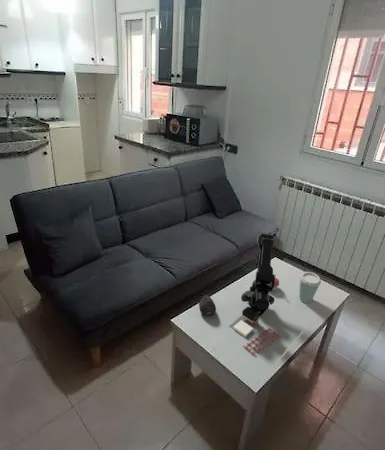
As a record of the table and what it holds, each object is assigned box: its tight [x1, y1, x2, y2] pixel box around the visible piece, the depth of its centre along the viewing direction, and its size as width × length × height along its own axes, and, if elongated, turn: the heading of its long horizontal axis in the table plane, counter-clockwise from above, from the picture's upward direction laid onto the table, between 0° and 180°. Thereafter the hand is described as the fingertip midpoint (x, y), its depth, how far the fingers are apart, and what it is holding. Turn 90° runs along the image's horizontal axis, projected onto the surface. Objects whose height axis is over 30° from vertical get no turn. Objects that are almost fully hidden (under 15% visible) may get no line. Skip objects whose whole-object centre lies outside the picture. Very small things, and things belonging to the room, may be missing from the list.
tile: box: [232, 320, 253, 338], centre depth 145 cm, size 2×7×6 cm
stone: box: [198, 294, 217, 316], centre depth 152 cm, size 8×8×10 cm
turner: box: [243, 312, 260, 324], centre depth 148 cm, size 4×8×6 cm, turn 46°
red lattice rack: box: [242, 327, 282, 358], centre depth 139 cm, size 7×19×2 cm, turn 130°
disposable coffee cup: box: [298, 271, 322, 304], centre depth 165 cm, size 11×11×15 cm
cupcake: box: [269, 273, 280, 291], centre depth 172 cm, size 9×8×12 cm
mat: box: [228, 314, 265, 342], centre depth 147 cm, size 12×12×1 cm
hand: (256, 319), depth 147 cm, fingers closed on turner, 3 cm apart
